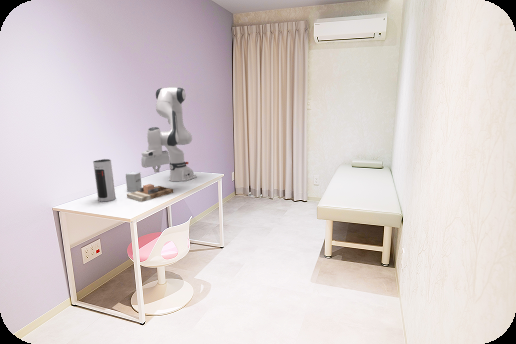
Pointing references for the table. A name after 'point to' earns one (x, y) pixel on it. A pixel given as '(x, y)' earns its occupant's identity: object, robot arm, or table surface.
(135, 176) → the supplement box
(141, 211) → the table surface
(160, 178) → the table surface
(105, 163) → the speaker
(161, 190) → the wooden tray
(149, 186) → the terracotta block
